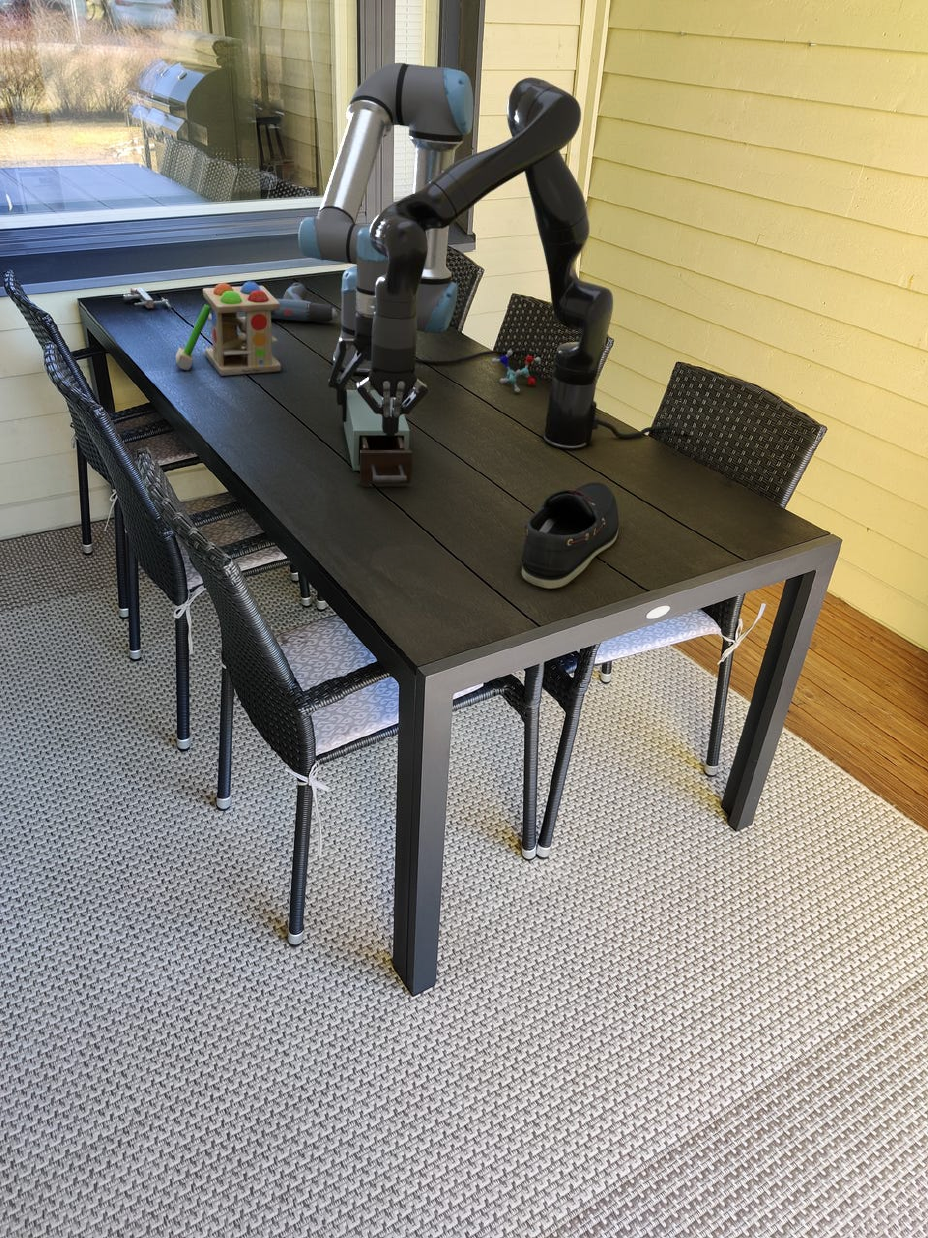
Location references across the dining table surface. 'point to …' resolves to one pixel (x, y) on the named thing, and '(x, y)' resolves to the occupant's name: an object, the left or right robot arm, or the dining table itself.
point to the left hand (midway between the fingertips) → (371, 419)
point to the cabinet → (367, 424)
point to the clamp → (144, 298)
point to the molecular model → (511, 373)
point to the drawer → (384, 460)
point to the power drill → (301, 307)
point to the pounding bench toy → (229, 347)
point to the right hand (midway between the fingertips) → (390, 434)
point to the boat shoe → (568, 534)
